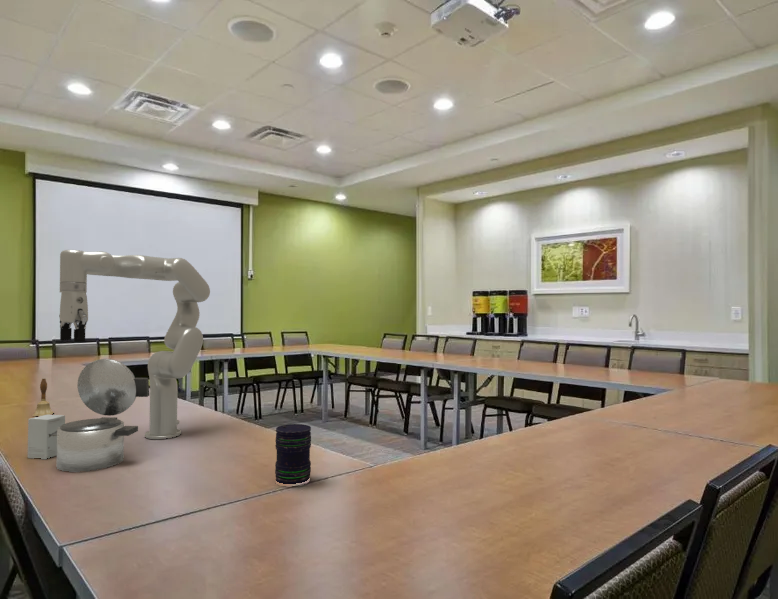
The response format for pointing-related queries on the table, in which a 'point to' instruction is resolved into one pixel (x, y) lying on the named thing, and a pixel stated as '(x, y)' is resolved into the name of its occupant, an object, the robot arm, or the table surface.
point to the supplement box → (43, 435)
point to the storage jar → (293, 453)
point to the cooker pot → (91, 444)
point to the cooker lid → (110, 387)
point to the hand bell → (43, 402)
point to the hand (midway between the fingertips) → (72, 340)
